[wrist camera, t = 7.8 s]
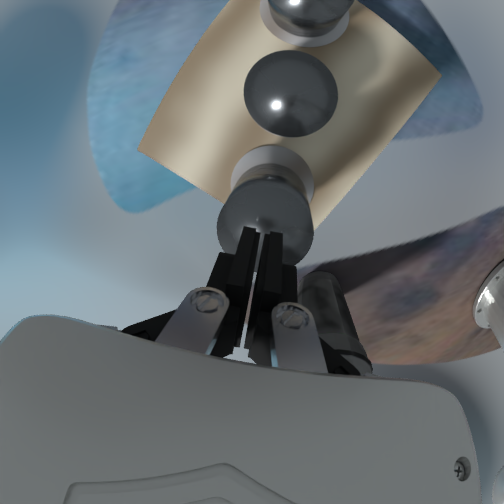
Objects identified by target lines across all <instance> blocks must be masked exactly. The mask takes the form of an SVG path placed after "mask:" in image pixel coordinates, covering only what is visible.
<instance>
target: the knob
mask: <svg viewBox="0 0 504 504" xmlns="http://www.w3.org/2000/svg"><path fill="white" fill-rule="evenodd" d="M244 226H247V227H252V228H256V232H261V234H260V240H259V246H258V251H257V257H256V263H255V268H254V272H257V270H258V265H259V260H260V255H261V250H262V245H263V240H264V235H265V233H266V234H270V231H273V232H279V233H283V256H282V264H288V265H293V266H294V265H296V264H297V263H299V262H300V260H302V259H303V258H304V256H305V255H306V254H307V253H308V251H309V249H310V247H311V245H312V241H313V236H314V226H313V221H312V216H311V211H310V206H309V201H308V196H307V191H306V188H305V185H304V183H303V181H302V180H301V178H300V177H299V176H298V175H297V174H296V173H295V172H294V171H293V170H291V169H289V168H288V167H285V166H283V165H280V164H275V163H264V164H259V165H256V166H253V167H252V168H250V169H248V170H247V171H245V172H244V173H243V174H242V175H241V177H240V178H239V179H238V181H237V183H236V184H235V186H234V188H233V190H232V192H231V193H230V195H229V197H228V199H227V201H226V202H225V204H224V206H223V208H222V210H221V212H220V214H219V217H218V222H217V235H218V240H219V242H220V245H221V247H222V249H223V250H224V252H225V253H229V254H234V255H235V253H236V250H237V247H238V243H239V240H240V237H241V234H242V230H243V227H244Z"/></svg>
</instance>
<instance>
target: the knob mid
mask: <svg viewBox="0 0 504 504" xmlns="http://www.w3.org/2000/svg"><path fill="white" fill-rule="evenodd" d="M244 101H245V105H246V107H247V110H248V112H249V113H250V115H251V117H252V118H253V119H254V120H255V121H256V122H257V123H258V124H259V125H260V126H261V127H262V128H264V129H265V130H267V131H269V132H271V133H273V134H276V135H279V136H283V137H302V136H306V135H310V134H312V133H314V132H316V131H318V130H319V129H321V128H322V127H323V126H325V125H326V124H327V123H328V121H329V120H330V119H331V117H332V116H333V114H334V112H335V110H336V107H337V102H338V89H337V85H336V81H335V79H334V77H333V75H332V73H331V72H330V70H329V69H328V68H327V66H326V65H325V64H324V63H322V62H321V61H320V60H319V59H317V58H316V57H314V56H312V55H310V54H308V53H305V52H301V51H296V50H281V51H277V52H273V53H270V54H268V55H266V56H264V57H263V58H261V59H260V60H259V61H257V62H256V63H255V64H254V65H253V67H252V68H251V69H250V71H249V73H248V75H247V77H246V79H245V83H244Z"/></svg>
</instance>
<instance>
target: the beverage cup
mask: <svg viewBox="0 0 504 504" xmlns="http://www.w3.org/2000/svg"><path fill="white" fill-rule="evenodd" d="M297 295H298V304H300V305H302V306H304V307H305V308H307V309H308V310H309V311H310V312H311V314H312V316H313V318H314V321H315V325H316V328H317V332H318V336H319V337H320V338H322V339H323V340H324V341H325V342H326V343H327V344H329V345H330V346H331V347H332V348H333V349H335V350H336V351H337V352H338V353H339V354H340V355H342V356H343V357H344V358H345V359H346V360H348V361H349V362H350V363H351V364H352V365H354V366H355V367H356V368H357V369H358V371H359V372H360V374H362V375H364V374H365V373H370V374H372V370H373V368H372V364H371V361H370V360H369V359H368V357H367V354H366V352H365V350H364V348H363V346H362V344H361V343H360V342H359V338H358V335H357V332H356V329H355V326H354V323H353V320H352V317H351V314H350V311H349V309H348V306H347V303H346V300H345V297H344V294H343V292H342V289H341V287H340V285H339V283H338V280H337V278H336V277H335V276H334V275H332V274H330V273H328V272H324V271H316V272H312V273H310V274H308V275H306V276H305V277H303V279H302V280H301V281H300V283H299V286H298V292H297Z"/></svg>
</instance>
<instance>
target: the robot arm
mask: <svg viewBox="0 0 504 504" xmlns="http://www.w3.org/2000/svg"><path fill="white" fill-rule="evenodd" d="M260 234H261V232H256V228H252V227H247V226H244V227H243V230H242V234H241V237H240V240H239V243H238V247H237V250H236V253H235V255H234V254H229V253H223V252H220V253H219V255H218V258H217V260H216V263H215V265H214V268H213V270H212V273H211V276H210V278H209V281H208V283H207V286H206V287H200V288H196V289H194V290H192V291H190V293H188V294H187V296H186V297H185V299H184V300H183V301H182V303H181V304H180V306H179V307H178V309H176V310H173V311H170V312H168V313H165V314H162V315H159V316H156V317H153V318H151V319H148V320H145V321H143V322H139V323H136V324H133V325H131V326H128V327H126V328H124V329H123V330H122V331H121V330H118V328H117V327H113V326H104V325H96V324H92V323H89V322H86V321H83V320H79V319H75V318H70V317H66V316H59V315H34V316H29V317H26V318H24V319H22V320H21V321H19V322H18V323H17V324H16V325H14V327H12V328H11V329H10V330H9V331H8V332H7V334H6V335H5V336H4V337H3V338H2V339H1V341H0V504H482V497H481V486H480V478H479V471H478V464H477V458H476V452H475V448H474V444H473V439H472V436H471V432H470V428H469V425H468V422H467V419H466V416H465V414H464V411H463V409H462V407H461V405H460V403H459V401H458V400H457V398H456V397H455V396H454V395H453V394H452V393H450V392H449V391H447V390H445V389H443V388H442V387H439V386H437V385H434V384H431V383H427V382H423V381H418V380H411V379H400V378H386V377H381V376H378V375H374V374H370V373H365V374H364V375H362V374H360V372H359V371H358V369H357V368H356V367H355V366H354V365H352V364H351V363H350V362H349V361H348V360H346V359H345V358H344V357H343V356H342V355H340V354H339V353H338V352H337V351H336V350H335V349H333V348H332V347H331V346H330V345H329V344H327V343H326V342H325V341H324V340H323V339H322V338H320V337H319V336H318V332H317V328H316V325H315V321H314V318H313V316H312V314H311V312H310V311H309V310H308V309H307V308H305V307H304V306H302V305H300V304H298V295H297V269H296V266H293V265H288V264H282V256H283V233H279V232H273V231H270V234H266V233H265V235H264V240H263V245H262V250H261V255H260V260H259V265H258V270H257V275H256V280H255V285H254V291H253V297H252V303H251V309H250V315H249V321H248V327H247V333H246V339H245V345H244V348H245V349H249V354H248V357H250V358H251V359H252V360H253V361H254V362H255V363H256V364H253V363H247V362H242V361H236V360H231V359H226V358H223V357H225V356H227V355H229V354H233V349H234V347H240V342H241V337H242V331H243V327H244V321H245V316H246V311H247V306H248V301H249V296H250V291H251V285H252V280H253V273H254V268H255V263H256V257H257V251H258V246H259V240H260ZM473 318H474V319H475V321H476V323H477V324H478V326H480V327H482V328H491V329H492V331H493V332H494V334H495V336H496V338H497V340H498V342H499V344H500V345H501V347H502V349H503V351H504V261H503V262H502V263H500V264H499V265H498V266H497V267H496V268H495V269H494V270H493V271H492V272H491V273H490V275H489V276H488V277H487V278H486V280H485V281H484V283H483V284H482V286H481V288H480V290H479V291H478V293H477V296H476V298H475V301H474V305H473ZM492 497H493V504H504V466H503V467H502V468H501V469H500V471H499V472H498V474H497V475H496V478H495V480H494V484H493V492H492Z"/></svg>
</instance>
